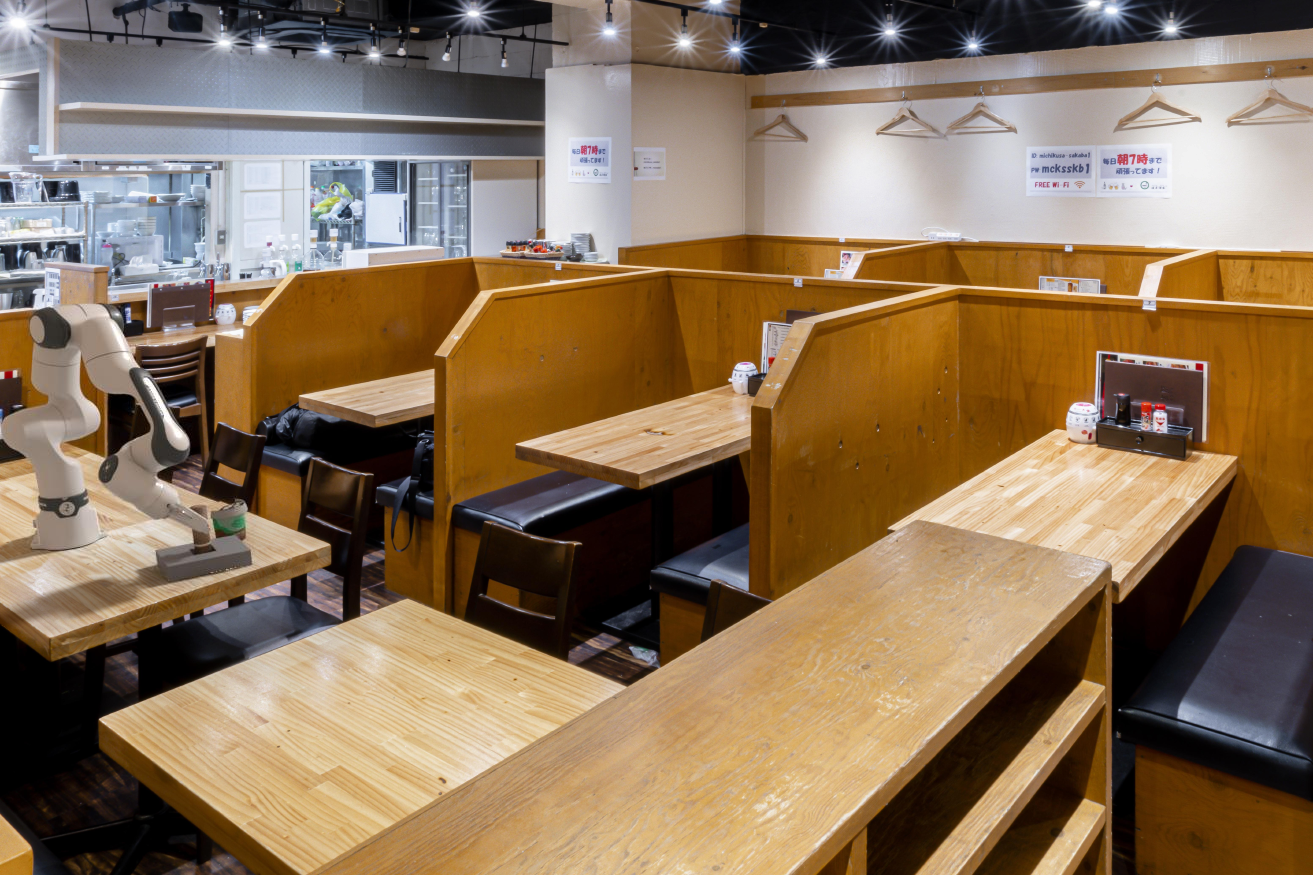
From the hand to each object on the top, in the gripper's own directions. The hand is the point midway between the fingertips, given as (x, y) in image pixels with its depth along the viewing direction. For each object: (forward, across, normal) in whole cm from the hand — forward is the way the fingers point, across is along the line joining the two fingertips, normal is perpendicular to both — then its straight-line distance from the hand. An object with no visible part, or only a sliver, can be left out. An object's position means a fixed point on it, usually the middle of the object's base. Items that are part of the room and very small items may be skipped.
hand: (203, 529), depth 272 cm
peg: (+5, 0, +6) cm, 8 cm away
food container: (+17, +13, -3) cm, 21 cm away
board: (+6, 0, +7) cm, 10 cm away
